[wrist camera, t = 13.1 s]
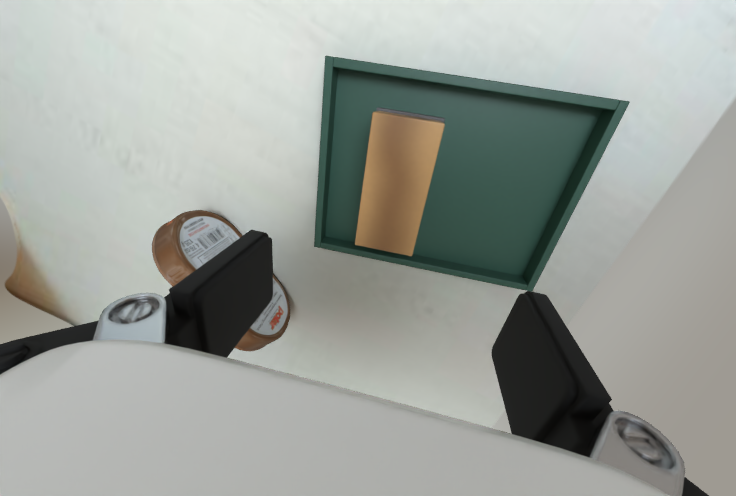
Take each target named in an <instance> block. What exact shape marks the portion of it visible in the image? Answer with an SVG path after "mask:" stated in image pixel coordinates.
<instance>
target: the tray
mask: <svg viewBox="0 0 736 496" xmlns="http://www.w3.org/2000/svg"><path fill="white" fill-rule="evenodd" d="M628 105H629V101H622V100H616V99H609V98H603V97H596V96H589V95H583V94H576V93H570V92H563V91H556V90H550V89H543V88H536V87H530V86H523V85H517V84H510V83H503V82H497V81H490V80H483V79H477V78H470V77H464V76H457V75H450V74H444V73H437V72H430V71H424V70H417V69H411V68H404V67H397V66H391V65H384V64H377V63H371V62H364V61H358V60H351V59H344V58H338V57H331V56H325V71H324V88H323V105H322V122H321V140H320V157H319V174H318V191H317V208H316V225H315V242H314V247H318V248H320V247H321V248H324V249H328V250H333V251H338V252H343V253H348V254H353V255H357V256H362V257H367V258H372V259H377V260H382V261H386V262H391V263H396V264H401V265H406V266H411V267H415V268H420V269H425V270H430V271H435V272H440V273H444V274H449V275H454V276H459V277H464V278H469V279H473V280H478V281H483V282H488V283H493V284H498V285H502V286H507V287H512V288H517V289H522V290H527V291H533V289H534V287H535V285H536V283H537V281H538V279H539V277H540V275H541V273H542V271H543V269H544V267H545V265H546V263H547V262H548V260H549V258H550V256H551V254H552V252H553V250H554V248H555V246H556V244H557V242H558V240H559V238H560V236H561V234H562V232H563V231H564V229H565V227H566V225H567V223H568V221H569V219H570V217H571V215H572V213H573V211H574V209H575V207H576V205H577V203H578V201H579V200H580V198H581V196H582V194H583V192H584V190H585V188H586V186H587V184H588V182H589V180H590V178H591V176H592V174H593V172H594V170H595V169H596V167H597V165H598V163H599V161H600V159H601V157H602V155H603V153H604V151H605V149H606V147H607V145H608V143H609V141H610V139H611V138H612V136H613V134H614V132H615V130H616V128H617V126H618V124H619V122H620V120H621V118H622V116H623V114H624V112H625V110H626V108H627V107H628ZM377 107H382V108H389V109H395V110H401V111H407V112H413V113H419V114H425V115H431V116H437V117H443V118H445V122H444V124H445V127H444V131H443V135H442V139H441V143H440V147H439V151H438V155H437V159H436V163H435V167H434V171H433V175H432V179H431V183H430V187H429V191H428V195H427V199H426V203H425V207H424V211H423V215H422V219H421V223H420V227H419V231H418V235H417V239H416V243H415V247H414V251H413V255H412V256H408V255H403V254H398V253H393V252H388V251H383V250H378V249H373V248H368V247H364V246H359V245H355V239H356V231H357V224H358V217H359V209H360V202H361V194H362V187H363V180H364V172H365V165H366V157H367V150H368V143H369V135H370V128H371V120H372V113H373V112H375V111H376V110H377Z"/></svg>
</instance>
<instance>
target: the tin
mask: <svg viewBox="0 0 736 496" xmlns="http://www.w3.org/2000/svg"><path fill="white" fill-rule="evenodd" d="M241 237H242V235H241V234H240V232H239V231H238V230H237V229H236V228H235V227H234V226H233V225H232V224H231V223H229V222H228V221H227V220H225V219H224V218H222V217H221V216H219V215H216V214H214V213H211V212H208V211H202V210H195V211H189V212H185V213H182V214H180V215H179V216H177V217H175V218H174V219H173V220H172V221H170V222H168V223H166V224H164V225H163V226H161V227H160V228H159V229H158V231H157V232H156V234H155V236H154V238H153V242H152V253H153V258H154V261H155V264H156V266H157V268H158V269H159V271H160V273H161V274H162V276H163V277H164V278H165V279H166V280H167V281H168V282H169V283H170V284H171V285H172V286H174V285H176V284H177V283H179V282H180V281H181V280H183V279H184V278H185V277H187V276H188V275H190V274H191V273H192V272H194V271H195V270H197V269H198V268H199V267H201V266H202V265H203V264H205V263H206V262H208V261H209V260H210V259H212V258H213V257H214V256H216V255H217V254H219V253H220V252H221V251H223V250H224V249H225V248H227V247H228V246H230V245H231V244H232V243H234V242H235V241H236V240H238V239H239V238H241ZM289 319H290V305H289V300H288V297H287V294H286V292H285V290H284V288H283V286H282V285H281V283H280V282H279V281H278V280H277V278H276V277H275V276H274V275H273V297H272V300H271V301H270V303H269V304H268V306H267V307H266V308H265V309H264V311H263V312H262V313H261V314H260V316H259V317H258V318H257V320H256V321H255V322H254V323H253V325H252V326H251V327H250V329H249V330H248V331H247V332H246V334H245V335H244V336H243V337H242V339H241V340H240V341H239V343H238V344H237V345H236V346H235V348H237V349H239V350H243V351H255V350H258V349H261V348H263V347H264V346H265V345H267V344H269V343H271V342H273V341H275V340H277V339H278V338H280V337H281V336H282V335H283V333H284V332H285V330H286V328H287V325H288V322H289Z"/></svg>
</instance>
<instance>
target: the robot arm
mask: <svg viewBox="0 0 736 496" xmlns="http://www.w3.org/2000/svg"><path fill="white" fill-rule="evenodd" d="M169 291H170V294H168V295H167V296H166V297H164V298H163V297H162V296H161V295H158V294H155V293H139V294H134V295H129V296H126V297H124V298H121V299H118V300H117V301H115V302H113V303H111V304H110V305H109V306H107V307H106V308H105V309H104V310H103V312H102V314H101V315H100V318H99V321H95V322H91V323H87V324H82V325H78V326H74V327H70V328H65V329H61V330H57V331H52V332H48V333H43V334H40V335H35V336H30V337H26V338H22V339H18V340H14V341H10V342H7V343H4V344H0V496H709V495H707V494H706V493H705V492H703V491H702V490H701V489H699V488H698V487H697V486H696V485H694V484H693V483H692V482H690V481H689V480H688V479H687V478H685V477H684V475H685V467H684V461H683V459H682V458H681V456H680V454H679V452H678V451H677V449H676V448H675V447H674V445H673V444H672V443H671V442H670V441H669V440H668V439H667V438H666V437H665V436H664V435H663V434H662V433H661V432H660V431H659V430H657V429H656V428H654V427H653V426H652V425H651V424H649V423H648V422H646V421H645V420H643V419H641V418H639V417H638V416H635V415H633V414H630V413H628V412H623V411H613V409H612V408H611V406H610V404H609V402H610V401H611V400H612V399H611V397H610V396H609V394H608V393H607V391H606V389H605V388H604V386H603V385H602V383H601V382H600V380H599V378H598V377H597V375H596V373H595V372H594V370H593V369H592V367H591V365H590V364H589V362H588V361H587V359H586V358H585V356H584V354H583V353H582V351H581V349H580V348H579V346H578V345H577V343H576V341H575V340H574V338H573V337H572V335H571V333H570V332H569V330H568V329H567V327H566V325H565V324H564V322H563V321H562V319H561V317H560V316H559V314H558V313H557V311H556V309H555V308H554V306H553V305H552V303H551V301H550V300H549V298H548V297H547V296H546V295H544V294H540V293H535V292H531V291H527V292H526V293H525V294H520V295H519V296H518V298H517V300H516V302H515V304H514V306H513V308H512V310H511V312H510V314H509V316H508V318H507V320H506V322H505V324H504V326H503V327H502V329H501V331H500V333H499V335H498V337H497V339H496V341H495V343H494V345H493V348H492V359H493V362H494V366H495V370H496V374H497V378H498V382H499V386H500V389H501V393H502V397H503V401H504V405H505V409H506V413H507V416H508V420H509V424H510V428H511V432H512V434H510V433H507V432H503V431H500V430H496V429H492V428H489V427H485V426H481V425H478V424H474V423H470V422H467V421H463V420H459V419H456V418H452V417H448V416H445V415H441V414H437V413H434V412H430V411H426V410H423V409H419V408H415V407H412V406H408V405H404V404H401V403H397V402H393V401H389V400H386V399H382V398H378V397H375V396H371V395H367V394H363V393H360V392H356V391H352V390H348V389H345V388H341V387H337V386H333V385H330V384H326V383H322V382H318V381H315V380H311V379H307V378H303V377H299V376H295V375H292V374H288V373H284V372H280V371H276V370H272V369H269V368H265V367H261V366H257V365H253V364H250V363H246V362H242V361H238V360H234V359H230V358H227V357H228V355H229V354H230V353H231V352H232V350H233V349H234V348H235V346H236V345H237V344H238V343H239V341H240V340H241V339H242V337H243V336H244V335H245V334H246V332H247V331H248V330H249V329H250V327H251V326H252V325H253V323H254V322H255V321H256V320H257V318H258V317H259V316H260V314H261V313H262V312H263V311H264V309H265V308H266V307H267V306H268V304H269V303H270V301H271V300H272V297H273V262H272V239H271V238H269V237H268V234H267V233H264V232H259V231H255V230H250V231H249V232H247V233H246V234H245V235H243V236H242V237H241V238H239V239H238V240H236V241H235V242H234V243H232V244H231V245H230V246H228V247H227V248H225V249H224V250H223V251H221V252H220V253H219V254H217V255H216V256H214V257H213V258H212V259H210V260H209V261H208V262H206V263H205V264H203V265H202V266H201V267H199V268H198V269H197V270H195V271H194V272H192V273H191V274H190V275H188V276H187V277H185V278H184V279H183V280H181V281H180V282H179V283H177V284H176V285H174V286H173V287H172V288H170V289H169Z"/></svg>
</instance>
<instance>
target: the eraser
mask: <svg viewBox="0 0 736 496" xmlns="http://www.w3.org/2000/svg"><path fill="white" fill-rule="evenodd" d="M444 122H445V118H443V117H437V116H431V115H425V114H419V113H413V112H407V111H401V110H395V109H389V108H382V107H377V110H376V111H375V112H373V113H372V120H371V128H370V135H369V143H368V150H367V157H366V165H365V172H364V180H363V187H362V194H361V202H360V209H359V217H358V224H357V231H356V239H355V245H359V246H364V247H368V248H373V249H378V250H383V251H388V252H393V253H398V254H403V255H408V256H412V255H413V251H414V247H415V243H416V239H417V235H418V231H419V227H420V223H421V219H422V215H423V211H424V207H425V203H426V199H427V195H428V191H429V187H430V183H431V179H432V175H433V171H434V167H435V163H436V159H437V155H438V151H439V147H440V143H441V139H442V135H443V131H444V127H445V124H444Z"/></svg>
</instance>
